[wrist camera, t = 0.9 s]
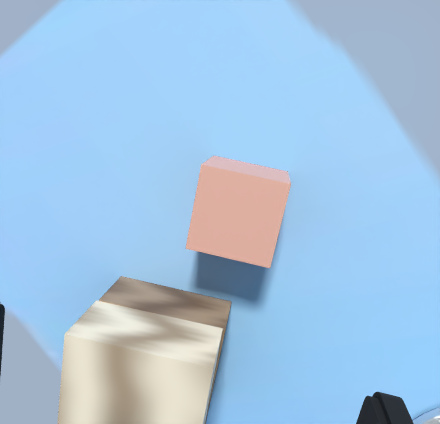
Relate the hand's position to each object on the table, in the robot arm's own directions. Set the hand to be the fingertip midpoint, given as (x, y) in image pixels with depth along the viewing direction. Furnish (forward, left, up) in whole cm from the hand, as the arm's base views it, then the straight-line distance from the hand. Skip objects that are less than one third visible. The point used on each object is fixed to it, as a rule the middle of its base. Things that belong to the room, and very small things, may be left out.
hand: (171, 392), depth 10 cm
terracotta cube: (0, 0, -24) cm, 24 cm away
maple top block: (+4, +14, -19) cm, 24 cm away
